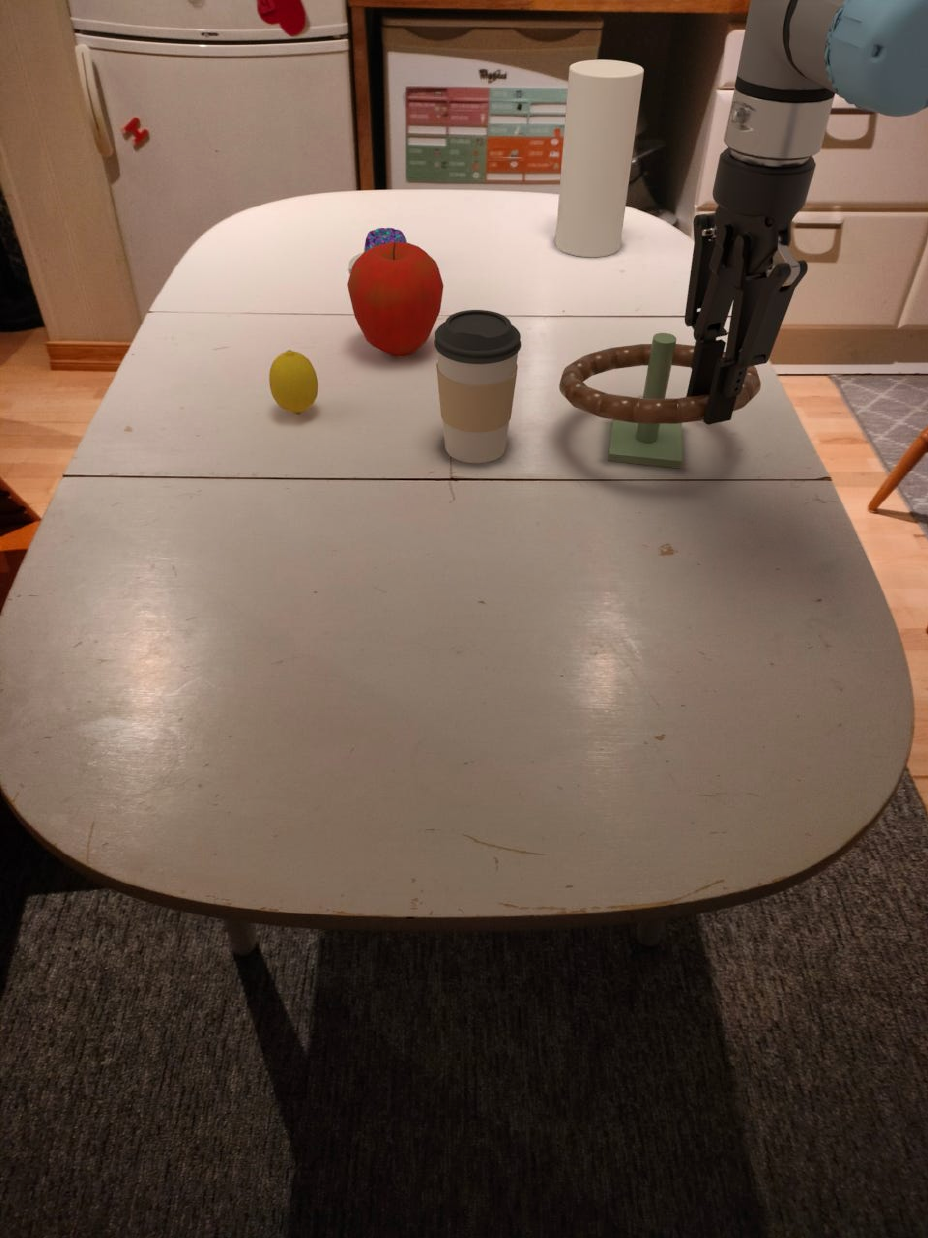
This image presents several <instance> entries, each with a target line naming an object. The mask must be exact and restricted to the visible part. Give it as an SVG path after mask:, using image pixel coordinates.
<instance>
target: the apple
mask: <svg viewBox="0 0 928 1238" xmlns="http://www.w3.org/2000/svg"><path fill="white" fill-rule="evenodd" d="M363 252H364V251H363ZM363 252H362V253H363ZM346 285H347V291H348V294H349V299H350V303H351V308H352V313H353V316H354V319H355V321H356V323H357V324H358V327H359V329H360V330H361V332H362V334H363V336H364V339H365V340H366V342H367V343H368V344H370V345H371V346H372V347H373V348H375V349H377V350H378V351H380V352H382V353H384V354H386V355H389V356H392V357H396V358H403V357H408V356H411V355H412V354H414V353H416V351H418V350H419V349H420V348H421V347H422V346H423V345H424V344H426V342H427V341H428V339H429V338H430V336H431V333H432V331H433V329H434V326H435V324H436V322H437V320H438V317H439V315H440V313H441V307H442V300H443V294H444V293H443V292H444V282H443V279H442V276H441V271H440V269H439V266H438V263H437V261H435V259H434V258H433V257H431V255H430V254H428V253H427V252H426V251H425V250H424V249H423V248H421V247H420V246H418V245H416V244H412V243H410V242H407V243H405V242H391V243H385V244H381V245H378V246H375V247H373V248H371V249H369V250H367V251H365V252H364V253H363V254H362V255H361V256H360V257H359V258H358V259H357V260H356V261H355V263H354V264H353V266H352V268H351V270H350V272H349V276H348V280H347V284H346Z"/></svg>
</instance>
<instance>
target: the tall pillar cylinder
mask: <svg viewBox="0 0 928 1238" xmlns="http://www.w3.org/2000/svg"><path fill="white" fill-rule="evenodd" d="M568 68H569V69H568V81H567V93H566V105H565V117H564V129H563V142H562V154H561V167H560V177H559V191H558V202H557V203H558V204H557V216H556V228H555V241H554V243H555V244H554V245H555V247H556V249H558V250H559V251H561V252H562V253H565V254H568V255H571V256H575V257H580V258H603V257H607V256H611V255H613V254H616V253H617V252H618V251H620V249H621V242H622V236H623V227H624V221H625V215H626V207H627V206H626V205H627V199H628V191H629V183H630V176H631V170H632V169H631V168H632V163H633V162H632V161H633V156H634V155H633V153H634V147H635V139H636V133H637V124H638V116H639V110H640V109H639V108H640V102H641V96H642V95H641V94H642V87H643V82H644V81H643V80H644V72H645V70H644V68H643V67H642V66H641V65H639V64H637V63H633V62H629V61H624V60H616V59H586V60H580V61H577V62H574V63H572V64H570V66H569V67H568Z"/></svg>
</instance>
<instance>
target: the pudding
mask: <svg viewBox="0 0 928 1238" xmlns="http://www.w3.org/2000/svg"><path fill="white" fill-rule="evenodd" d="M391 242H405V243H408V241H407V238H406V236H405V234H404V232H403V231H402V230H400V229H395V228H393V227H385V228H384V227H380V228H376V229H373V230H370V231H369V232H368V233H367V235H366V237H365V240H364V248H363V252H361V253H358V254H356V255H354V256H353V257H352V258H351V259H349V261H348V264H347V265H348V268H349V269H350V271H351V268H352V266H353V264H354V263H355V261H356V260H357V259H358V258H359V257H360V256H361V255H362V254H363V253H364V252H365V251H367V250H369V249H371V248H373V247H375V246H378V245H381V244H385V243H391Z"/></svg>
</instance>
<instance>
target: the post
mask: <svg viewBox="0 0 928 1238" xmlns="http://www.w3.org/2000/svg"><path fill="white" fill-rule="evenodd" d="M651 344H652V346H651V352H650V358H649V363H648V366H647V368H646V369H647V370H646V375H645V382H644V387H643V393H642V398H659V399H666V396H667V390H668V384H669V381H670V376H671V375H670V374H671V370H672V366H673V365H672V360H673V355H674V350H675V345H676V344H677V336H675V335H674V334H672V333H668V332H657V333H655V334H653V336H652V341H651ZM610 427H611V429H610V435H609V436H610V438H609V446H608V447H609V448H608V455H607V461H608V462H615V463H624V464H632V465H633V464H634V465H642V466H653V467H661V468H669V469H671V468H672V469H679V470H680V469H682V464H683V423H678V424H655V423H632V422H625V421H619V420H613V419H611V426H610Z"/></svg>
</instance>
